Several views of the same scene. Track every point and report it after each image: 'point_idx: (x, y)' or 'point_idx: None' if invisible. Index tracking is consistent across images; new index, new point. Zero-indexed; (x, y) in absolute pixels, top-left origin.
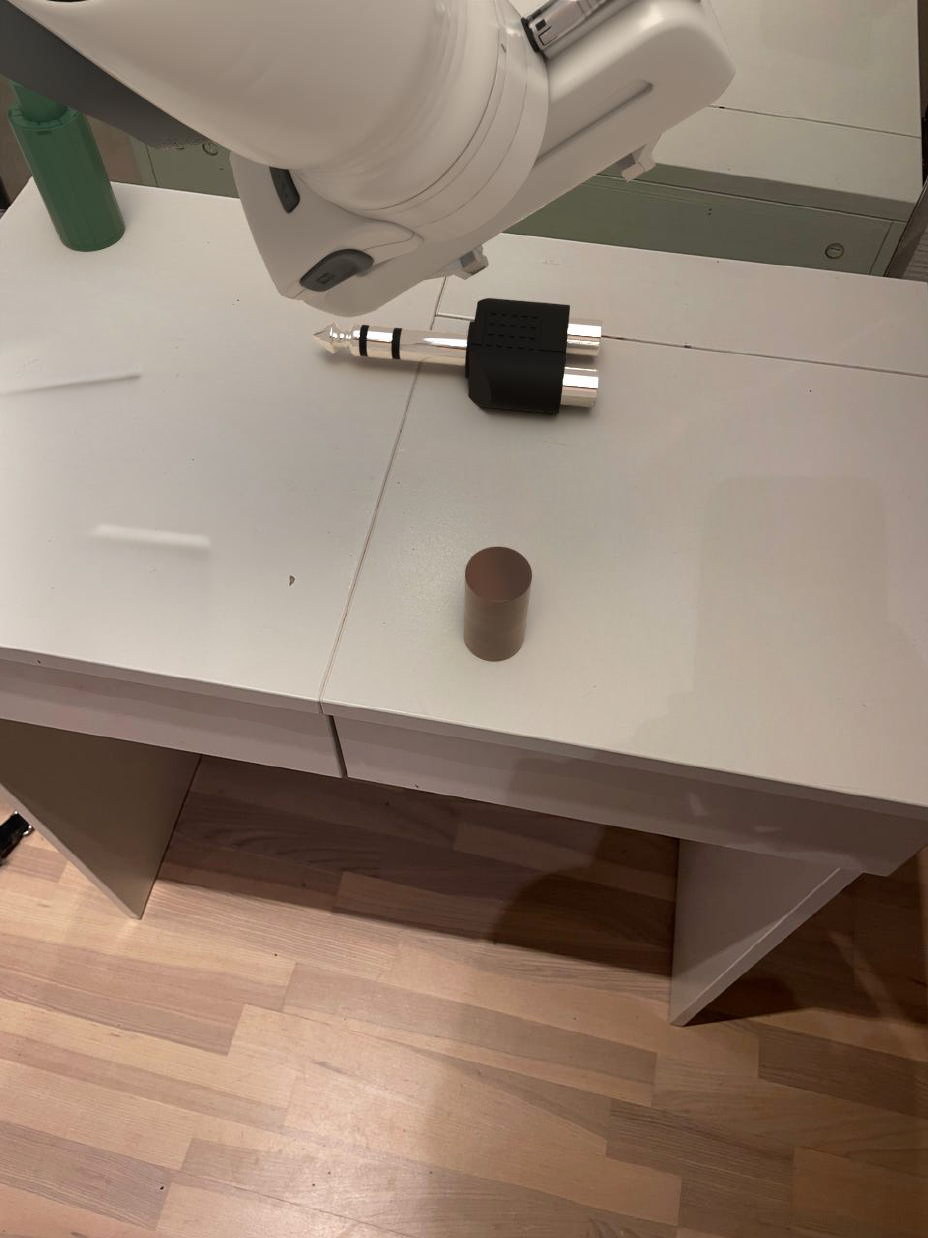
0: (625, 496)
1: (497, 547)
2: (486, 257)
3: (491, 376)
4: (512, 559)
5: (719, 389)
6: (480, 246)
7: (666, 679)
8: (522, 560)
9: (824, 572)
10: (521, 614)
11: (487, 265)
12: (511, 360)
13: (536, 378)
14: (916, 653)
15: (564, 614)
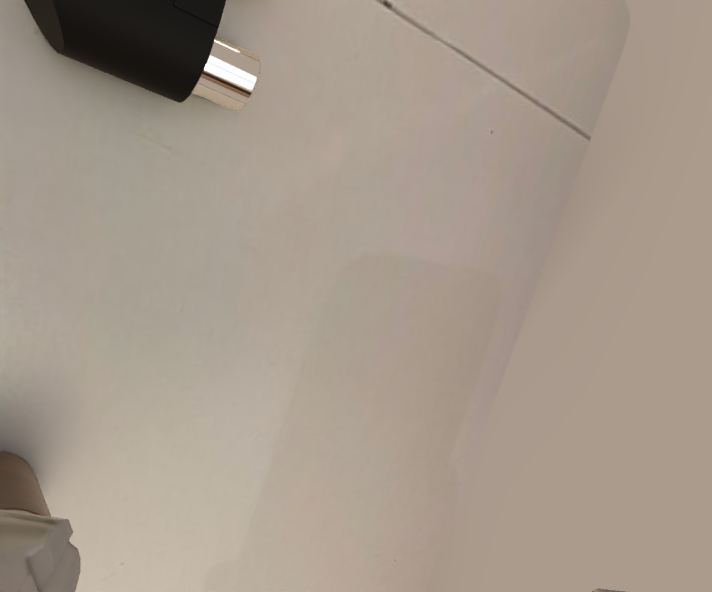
0: (235, 263)
1: (8, 510)
2: (77, 552)
3: (70, 29)
4: None
5: (401, 99)
6: (62, 552)
7: (213, 546)
8: None
9: (416, 400)
10: None
11: (74, 589)
12: (116, 14)
13: (154, 61)
14: (457, 498)
15: (104, 456)
